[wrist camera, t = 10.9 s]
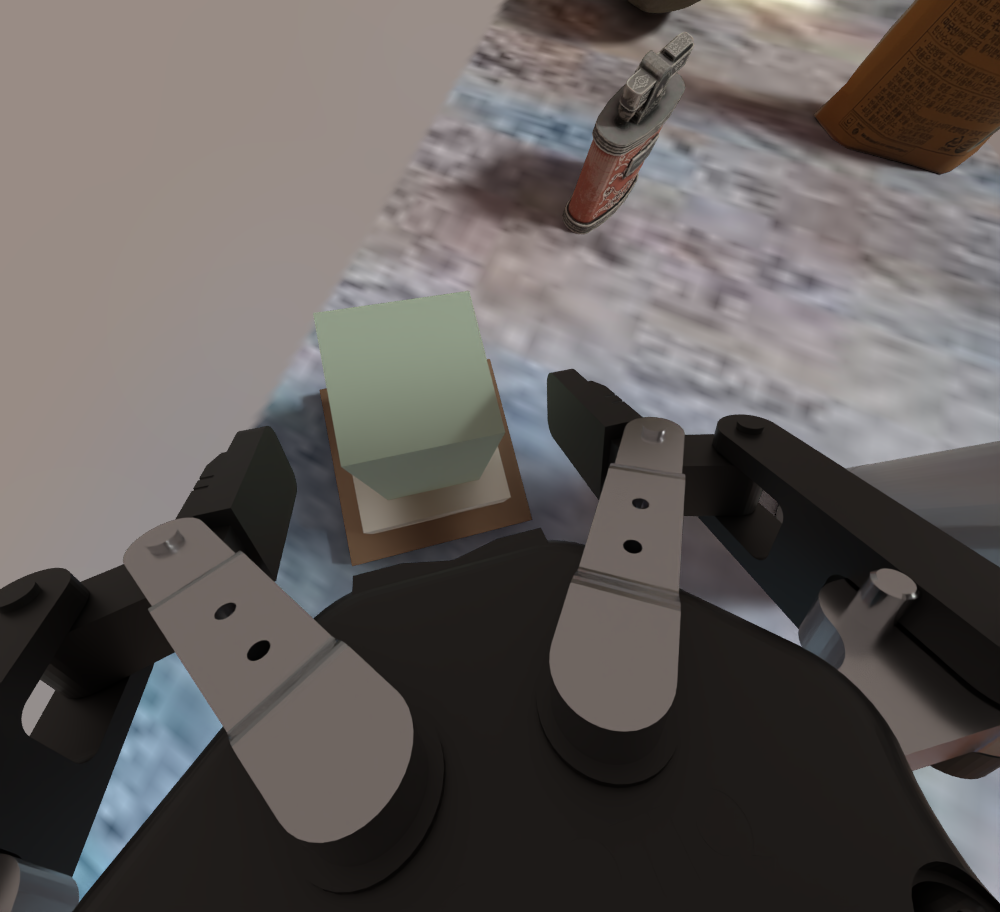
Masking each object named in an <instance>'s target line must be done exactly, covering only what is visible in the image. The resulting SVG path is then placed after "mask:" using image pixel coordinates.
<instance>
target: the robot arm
mask: <svg viewBox="0 0 1000 912" xmlns="http://www.w3.org/2000/svg"><path fill="white" fill-rule="evenodd" d="M547 411H548V425H549V430H550V433H551V435H552V437H553V438H554V440H555V441H556V443H557V444H558V445H559V447H560V448H561V449H562V451H563V452H564V453H565V455H566V456H567V457H568V459H569V460H570V462H571V463H572V464H573V466H574V467H575V468H576V470H577V471H578V472H579V474H580V475H581V477H582V478H583V479H584V481H585V482H586V483H587V485H588V486H589V487H590V489H591V490H592V491H593V493H594V494H595V496H596V497H597V498H598V500H599V502H598V506H597V509H596V512H595V516H594V519H593V522H592V525H591V529H590V532H589V535H588V539H587V542H586V545H583V544H579V543H575V542H569V541H558V540H547V539H546V537H545V535H544V533H543V531H542V529H541V528H538V529H534V530H530V531H526V532H522V533H518V534H514V535H510V536H507V537H503V538H499V539H496V540H494V541H492V542H490V543H488V544H486V545H484V546H482V547H480V548H478V549H476V550H473V551H471V552H469V553H467V554H465V555H463V556H461V557H459V558H457V559H454V560H450V561H436V562H419V563H402V564H398V565H394V566H390V567H386V568H382V569H379V570H375V571H371V572H367V573H363V574H359V575H355V576H353V589H352V592H351V593H349V594H347V595H345V596H344V597H342V598H340V599H339V600H337V601H335V602H334V603H332V604H331V605H330V606H328V607H327V608H325V609H324V610H323V611H322V612H320V613H319V614H318V615H317V616H316V617H315V618H312V617H311V616H310V615H309V614H308V613H307V612H306V611H304V610H303V609H302V608H301V607H300V606H299V605H298V604H297V603H296V602H295V601H294V600H293V599H292V598H291V597H290V596H289V595H287V594H286V593H285V592H284V591H283V590H282V589H281V588H280V587H279V586H278V585H277V584H276V583H275V582H274V581H276V578H277V574H278V570H279V565H280V561H281V557H282V553H283V548H284V544H285V540H286V536H287V531H288V527H289V523H290V519H291V514H292V510H293V506H294V502H295V497H296V493H297V485H296V479H295V476H294V473H293V470H292V468H291V466H290V464H289V462H288V460H287V458H286V455H285V453H284V451H283V449H282V447H281V445H280V443H279V440H278V438H277V436H276V434H275V432H274V431H273V429H272V428H271V427H269V426H265V427H260V428H255V429H249V430H244V431H239V432H237V434H236V435H235V437H234V439H233V441H232V443H231V445H230V447H229V449H228V451H227V452H225V453H221V454H220V455H219V456H217V457H216V458H215V459H214V460H213V461H212V462H210V463H209V464H208V465H207V466H206V468H205V469H204V471H203V473H202V474H201V476H200V480H199V481H197V483H196V485H195V487H194V488H193V489H194V491H192V492H191V493H190V495H189V497H188V499H187V500H186V502H185V504H184V505H183V507H182V509H181V511H180V512H179V514H178V516H177V517H176V519H175V520H173V521H169V522H166V523H164V524H162V525H159V526H157V527H155V528H153V529H151V530H150V531H148V532H146V533H145V534H143V535H142V536H141V537H139V538H138V539H137V540H136V541H135V542H134V543H132V544H131V546H130V547H129V548H128V549H127V551H126V552H125V554H124V557H123V563H124V564H123V565H121V566H118V567H116V568H113V569H111V570H109V571H106V572H104V573H101V574H99V575H97V576H94V577H92V578H89V579H87V580H84V581H82V582H79V581H78V580H77V579H76V578H75V577H74V576H73V575H72V574H71V573H70V572H69V571H68V570H66V569H63V568H51V569H46V570H42V571H38V572H35V573H33V574H30V575H27V576H25V577H23V578H20V579H18V580H16V581H14V582H12V583H10V584H8V585H7V586H5V587H3V588H2V589H0V912H1000V903H999V902H998V901H997V900H996V899H995V898H994V897H993V896H992V894H991V893H990V892H989V891H988V890H987V889H986V887H985V886H984V885H983V884H982V883H981V882H980V880H979V879H978V878H977V876H976V875H975V874H974V872H973V871H972V870H971V868H970V867H969V866H968V864H967V863H966V861H965V860H964V858H963V857H962V856H961V854H960V853H959V851H958V850H957V848H956V847H955V845H954V844H953V843H952V841H951V840H950V838H949V837H948V835H947V833H946V832H945V830H944V829H943V827H942V825H941V824H940V822H939V820H938V819H937V817H936V816H935V814H934V812H933V811H932V809H931V807H930V805H929V804H928V802H927V800H926V798H925V796H924V794H923V792H922V790H921V789H920V787H919V785H918V783H917V781H916V779H915V776H914V774H913V772H912V771H914V770H917V769H920V768H923V767H926V766H932V767H933V768H935V769H937V770H939V771H941V772H943V773H946V774H949V775H951V776H955V777H959V778H964V779H978V778H981V777H984V776H986V775H987V774H989V773H991V772H992V771H994V770H996V769H997V768H999V767H1000V441H997V442H991V443H985V444H980V445H974V446H969V447H963V448H958V449H952V450H947V451H941V452H935V453H930V454H924V455H919V456H913V457H908V458H902V459H896V460H891V461H885V462H880V463H874V464H867V465H862V466H856V467H851V468H844V467H842V466H840V465H839V464H837V463H836V462H834V461H833V460H831V459H829V458H828V457H826V456H825V455H823V454H822V453H820V452H819V451H817V450H815V449H814V448H812V447H811V446H809V445H808V444H806V443H804V442H803V441H801V440H800V439H798V438H797V437H795V436H793V435H792V434H790V433H789V432H787V431H786V430H784V429H782V428H781V427H779V426H778V425H776V424H775V423H773V422H771V421H769V420H766V419H764V418H760V417H757V416H751V415H740V414H739V415H729V416H726V417H723V418H721V419H720V420H719V421H718V423H717V426H716V430H715V434H703V435H685V433H684V430H683V429H682V428H681V427H680V426H679V425H678V424H676V423H675V422H672V421H670V420H667V419H663V418H657V417H642V416H641V415H639V414H638V413H637V412H636V411H635V410H633V409H632V408H631V407H630V406H629V405H627V404H626V403H625V402H622V400H621V399H620V398H619V397H618V396H617V395H615V394H614V393H613V392H612V391H611V390H610V389H608V388H607V387H606V386H604V385H601V384H599V383H596V382H593V381H587V380H586V379H585V378H583V377H582V376H581V375H580V374H579V373H578V372H577V371H576V370H574V369H568V370H563V371H558V372H553V373H549V375H548V378H547ZM763 490H764V491H765V492H767V493H768V494H769V495H770V496H771V497H773V498H774V499H775V500H776V501H777V502H778V504H779V506H778V509H777V512H776V517H774V516H773V515H772V514H771V513H770V512H769V511H768V510H767V509H765V508H764V507H763V506H762V505H761V504H760V503H759V499H760V496H761V494H762V491H763ZM683 516H698V517H699V518H700V520H701V521H702V522H703V523H704V524H705V525H706V526H707V527H708V529H709V530H710V531H711V532H712V533H713V534H714V535H715V536H716V537H717V539H718V540H719V541H720V542H721V543H722V544H723V545H724V546H725V547H726V549H727V550H728V551H729V552H730V553H731V554H732V555H733V556H734V558H735V559H736V560H737V561H738V562H739V563H740V564H741V565H742V566H743V568H744V569H745V570H746V571H747V572H748V573H749V574H750V575H751V576H752V578H753V579H754V580H755V581H756V582H757V583H758V584H759V585H760V586H761V588H762V589H763V590H764V591H765V592H766V593H767V594H768V595H769V597H770V598H771V599H772V600H773V601H774V602H775V603H776V604H777V605H778V607H779V608H780V609H781V610H782V611H783V612H784V613H785V614H786V615H787V617H788V618H789V619H790V620H791V621H792V622H793V623H794V624H795V626H796V627H797V628H798V629H799V631H798V635H799V641H800V644H801V646H802V647H801V646H799V645H797V644H795V643H793V642H791V641H788V640H786V639H784V638H782V637H780V636H778V635H776V634H774V633H772V632H770V631H767V630H765V629H763V628H761V627H759V626H757V625H755V624H753V623H751V622H749V621H746V620H744V619H742V618H740V617H738V616H736V615H734V614H732V613H730V612H728V611H725V610H723V609H721V608H719V607H717V606H715V605H713V604H711V603H709V602H707V601H705V600H702V599H700V598H698V597H696V596H694V595H692V594H690V593H688V592H686V591H684V590H681V589H679V580H680V562H681V545H682V528H683ZM174 652H175V653H176V654H177V656H178V657H179V659H180V660H181V662H182V663H183V665H184V666H185V668H186V670H187V671H188V673H189V674H190V676H191V677H192V679H193V680H194V682H195V683H196V685H197V687H198V688H199V690H200V691H201V693H202V694H203V696H204V697H205V699H206V700H207V702H208V704H209V705H210V707H211V708H212V710H213V711H214V713H215V714H216V716H217V717H218V719H219V721H220V722H221V724H222V725H223V727H222V728H221V729H220V731H219V732H218V733H217V734H216V736H215V737H214V738H213V739H212V740H211V742H210V743H209V744H208V745H207V747H206V748H205V749H204V750H203V751H202V753H201V754H200V755H199V756H198V758H197V759H196V760H195V761H194V762H193V764H192V765H191V766H190V767H189V769H188V770H187V771H186V772H185V773H184V775H183V776H182V777H181V778H180V780H179V781H178V782H177V783H176V784H175V786H174V787H173V788H172V789H171V791H170V792H169V793H168V794H167V795H166V797H165V798H164V799H163V800H162V802H161V803H160V804H159V805H158V806H157V808H156V809H155V810H154V811H153V812H152V814H151V815H150V816H149V817H148V819H147V820H146V821H145V822H144V823H143V825H142V826H141V827H140V828H139V830H138V831H137V832H136V833H135V834H134V836H133V837H132V838H131V839H130V841H129V842H128V843H127V844H126V845H125V847H124V848H123V849H122V850H121V852H120V853H119V854H118V855H117V856H116V858H115V859H114V860H113V861H112V863H111V864H110V865H109V866H108V867H107V869H106V870H105V871H104V872H103V874H102V875H101V876H100V877H99V878H98V880H97V881H96V882H95V883H94V884H93V886H92V887H91V888H90V889H89V891H88V892H87V893H86V894H85V895H84V897H83V898H82V899H81V901H80V902H79V890H78V886H77V884H76V882H75V880H74V879H73V878H72V876H73V874H74V871H75V868H76V866H77V863H78V861H79V858H80V855H81V853H82V850H83V848H84V845H85V842H86V840H87V837H88V835H89V832H90V829H91V827H92V824H93V822H94V819H95V817H96V814H97V811H98V809H99V806H100V804H101V801H102V798H103V796H104V793H105V791H106V788H107V785H108V783H109V780H110V778H111V775H112V772H113V770H114V767H115V765H116V762H117V759H118V757H119V754H120V752H121V749H122V746H123V744H124V741H125V739H126V736H127V733H128V731H129V728H130V726H131V723H132V720H133V718H134V715H135V713H136V710H137V708H138V705H139V702H140V700H141V697H142V695H143V692H144V689H145V687H146V684H147V682H148V679H149V676H150V674H151V671H152V669H153V666H154V663H155V662H157V661H159V660H161V659H163V658H164V657H166V656H168V655H170V654H172V653H174ZM39 680H42V681H43V682H44V683H46V684H47V685H49V686H50V687H52V688H53V689H55V692H54V694H53V696H52V697H51V699H50V701H49V703H48V704H47V706H46V708H45V710H44V712H43V713H42V715H41V717H40V719H39V720H38V722H37V724H36V726H35V728H34V729H33V731H32V733H31V735H30V736H28V735H27V734H26V733H25V731H24V729H23V727H22V721H21V717H22V711H23V708H24V705H25V703H26V701H27V700H28V698H29V696H30V695H31V693H32V691H33V690H34V688H35V687H36V684H37V683H38V682H39Z"/></svg>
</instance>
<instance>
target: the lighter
mask: <svg viewBox="0 0 1000 912" xmlns="http://www.w3.org/2000/svg"><path fill="white" fill-rule="evenodd" d="M693 40H694V39H693V37H692V36H691V35H689V34H688V33H687V32H683V33H681V34H680V35H678V36H677V37H675V38H674V39H673V40H672V41H671V42H670V43H669V44H668V45H666V46H665V47H664V48H663V49H662V50H661V51H660V52H659V53H657V54H656V53H654V52H653V51H652V50H650V51H649V52H648V53H647V54H646V55H645V57H644V58H643V60H642V61H641V63H640V65H639V66H638V68H637V69H636V71H635V73H634V75H633V76H632V77H630V78H629V79H628V81H627V83H626V84H625V85H624V86H623V87H622V88H621V89H620V90H619V91H618V92H617V93H616V94H615V95H614V96H613V97H612V98H611V99H610V100H609V101H608V103H607V104H606V106H605V107H604V109H603V110H602V112H601V113H600V115H599V116H598V118H597V121H596V124H595V127H594V130H593V133H592V135H593V141H592V144H591V147H590V149H589V152H588V155H587V157H586V160H585V163H584V166H583V168H582V171H581V174H580V176H579V179H578V182H577V185H576V187H575V190H574V193H573V195H572V196H571V198H570V199H569V201H568V202H567V204H566V207H565V210H564V213H563V221H564V223H565V225H566V226H567V227H568V229H570V230H571V231H573V232H575V233H578V234H586V233H589V232H590V231H592V230H593V229H595V228H596V227H598V226H600V225H601V224H603V223H604V222H605V221H606V220H607V219H608V218H610V217H611V216H612V215H613V214H614V213H615V212H616V211H617V210H618V209H619V207H620V206H621V205H622V204H623V203H624V201H625V200H626V198H627V197H628V195H629V193H630V192H631V190H632V188H633V187H634V185H635V183H636V181H637V179H638V172H639V170H640V168H641V166H642V164H643V162H644V160H645V159H646V158H647V157H648V155H649V154H650V152H651V150H652V148H653V146H654V144H655V142H656V141H657V139H658V137H659V132H660V130H661V128H662V126H663V124H664V123H665V122H666V121H667V119H668V118H669V117H670V115H671V114H672V112H673V110H674V109H675V107H676V105H677V104H678V102H679V100H680V98H681V96H682V94H683V92H684V90H685V84H684V81H683V79H682V78H681V76H680V75H679V74H678V73H677V72H678V71H679V70H680V69H681V68H682V67H683V66H684V65H685V63H686V61H687V59H688V57H689V55H690V53H691V51H692V49H693V47H694V42H693Z"/></svg>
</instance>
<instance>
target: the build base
mask: <svg viewBox="0 0 1000 912" xmlns="http://www.w3.org/2000/svg"><path fill="white" fill-rule="evenodd" d="M487 363H488V367H489V371H490V375H491V378H492V382H493V386H494V390H495V394H496V398H497V402H498V406H499V410H500V414H501V417H502V421H503V425H504V429H505V434H504V436H503V438H502V439H501V441H500V443H499V445H498V447H497V448H496V450H495V452H494V454H493V456H492V457H491V459H490V461H489V463H488V465H487V466H486V468H485V470H484V472H483V474H482V475H481V477H480V479H479V480H475V481H470V482H466V483H462V484H457V485H453V486H448V487H444V488H440V489H435V490H431V491H426V492H422V493H418V494H413V495H409V496H404V497H400V498H396V499H391V500H387V499H385V498H384V497H383V496H381V495H380V494H378V493H377V492H376V491H374V490H373V489H371V488H370V487H369V486H367V485H366V484H364V483H363V482H362V481H360V480H359V479H357V478H356V477H355V476H353V475H352V474H350V473H349V472H348V471H346V470H345V469H343V468H342V467H341V464H340V458H339V453H338V447H337V442H336V436H335V431H334V425H333V420H332V414H331V409H330V403H329V398H328V392H327V389H321V390H320V395H321V400H322V406H323V411H324V416H325V422H326V427H327V433H328V438H329V444H330V449H331V454H332V460H333V465H334V471H335V476H336V481H337V487H338V492H339V498H340V503H341V509H342V514H343V519H344V525H345V530H346V536H347V541H348V546H349V552H350V557H351V563H352V566H355V565H359V564H363V563H367V562H370V561H374V560H378V559H382V558H386V557H390V556H394V555H398V554H402V553H405V552H409V551H413V550H417V549H421V548H425V547H429V546H433V545H436V544H440V543H444V542H448V541H452V540H456V539H460V538H464V537H467V536H471V535H475V534H479V533H483V532H487V531H491V530H495V529H499V528H502V527H506V526H510V525H514V524H518V523H522V522H526V521H530V520H532V517H531V513H530V509H529V506H528V502H527V498H526V494H525V491H524V487H523V483H522V479H521V475H520V472H519V468H518V464H517V460H516V456H515V453H514V449H513V445H512V441H511V437H510V434H509V430H508V426H507V422H506V419H505V415H504V411H503V407H502V403H501V400H500V396H499V392H498V388H497V384H496V381H495V377H494V373H493V369H492V365H491V362H490V359H487Z"/></svg>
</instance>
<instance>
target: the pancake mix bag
mask: <svg viewBox="0 0 1000 912" xmlns="http://www.w3.org/2000/svg"><path fill="white" fill-rule="evenodd" d="M814 116H815V117H816V118H817V120H818V121H819V123H820V124H821V125H822V127H823V128H824V129H825V130H826V132H827V133H828V134H829V135H830V137H831V138H832V139H833V140H835V141H836V142H838V143H839V144H841V145H843V146H844V147H846V148H848V149H852V150H856V151H860V152H864V153H868V154H871V155H875V156H879V157H882V158H886V159H889V160H894V161H898V162H902V163H906V164H909V165H913V166H916V167H919V168H922V169H925V170H928V171H932V172H935V173H938V174H943V173H946V172H950V171H952V170H953V169H954V168H956V167H957V166H958V165H960V164H961V163H962V162H964V161H965V160H966V159H968V158H969V157H970V156H972V155H973V154H974V153H975V152H977V151H978V150H979V149H980V148H981V146H982V145H983V144H984V143H985V142H986V141H987V140H988V139H989V138H990V137H991V136H992V135H993V134H994V133H995V132H996V131H998V130H999V129H1000V0H915V1H914V2H913V3H912V5H911V6H910V7H909V8H908V9H907V10H906V11H905V12H904V14H903V15H902V16H901V17H900V18H899V19H898V20H897V21H896V22H895V24H894V25H893V26H892V27H891V28H890V29H889V31H888V32H887V33H886V34H885V35H884V37H883V38H882V39H881V40H880V42H879V43H878V44H877V45H876V47H875V48H874V49H873V50H872V51H871V53H870V54H869V55H868V56H867V57H866V59H865V60H864V61H863V62H862V63H861V65H860V66H859V67H858V69H857V70H856V71H855V73H854V74H853V75H852V77H851V78H850V79H849V81H848V82H847V83H846V84H845V85H844V86H843V87H842V88H841V89H840V90H839V91H838V92H837V93H836V94H835V95H834V96H833V97H832V98H831V99H830V100H829V101H828V102H827V103H826V104H824V105H823V106H822V107H821V108H820V109H819V110H818V111H817V112H816V113H815V114H814Z"/></svg>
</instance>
